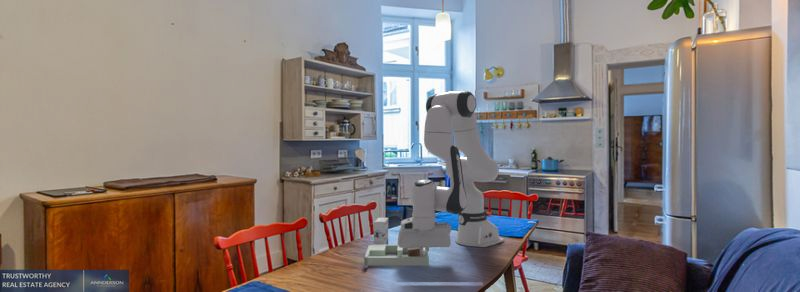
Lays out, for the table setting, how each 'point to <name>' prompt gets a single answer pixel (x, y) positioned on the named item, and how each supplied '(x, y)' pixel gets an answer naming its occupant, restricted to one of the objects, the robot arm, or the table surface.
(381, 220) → the ink box
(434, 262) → the table surface
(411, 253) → the block
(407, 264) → the tray
